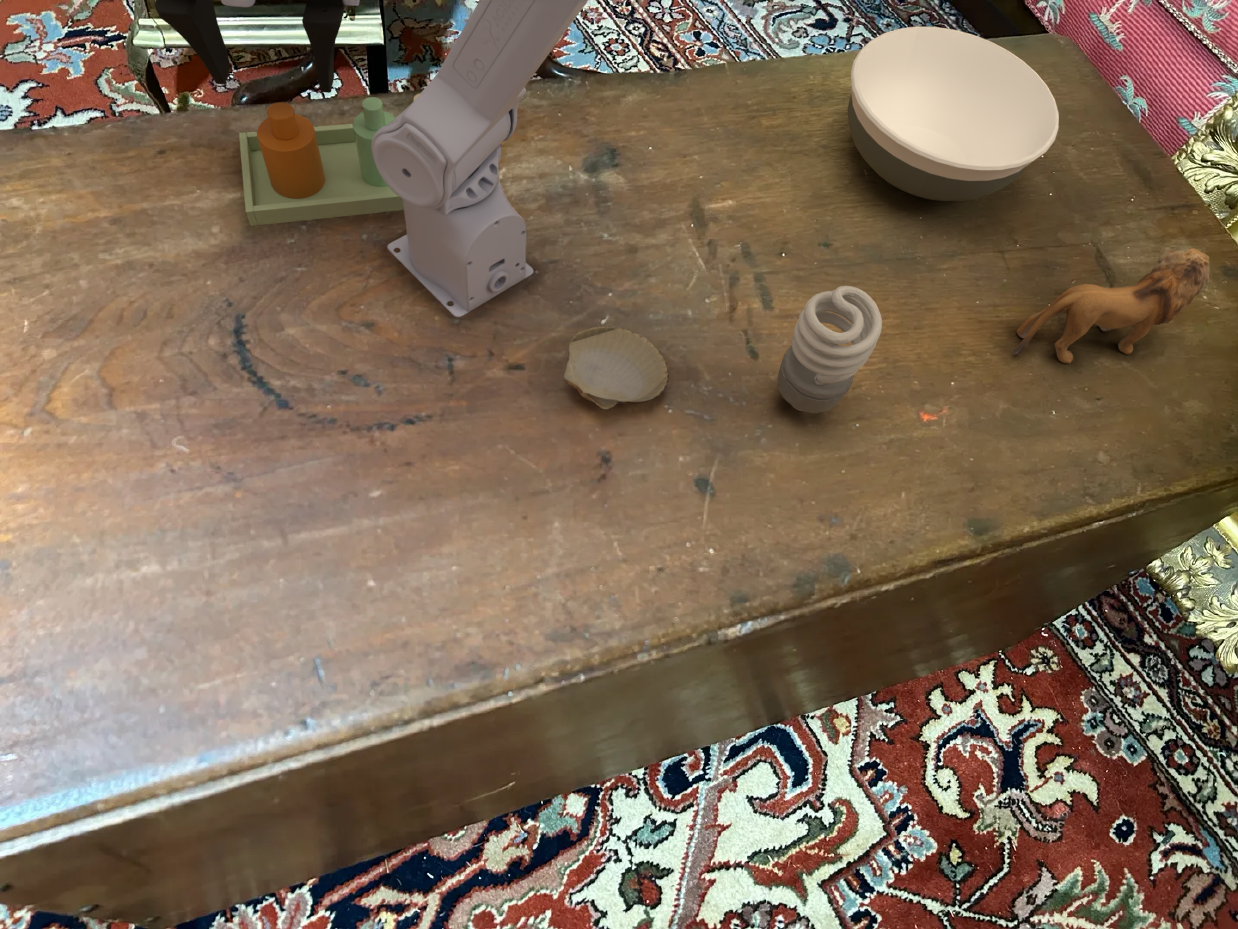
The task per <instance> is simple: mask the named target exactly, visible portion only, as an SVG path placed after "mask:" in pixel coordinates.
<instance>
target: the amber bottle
mask: <svg viewBox="0 0 1238 929" xmlns="http://www.w3.org/2000/svg"><path fill="white" fill-rule="evenodd" d="M266 114H267V118H265V119H264V120H262V122H260V124H259V125H258V126H257V130H256V132H257V138H258V141H259V145H260V148H261V151H262V155H263V158H264V162H265V165H266V169H267V172H268V175H269V179H270V182H271V185H272V187H273V189H274V190H275V191H276V192H277V193H278V194H280V195H282V196H284V197H287V198H294V199H299V198H306V197H309V196H312V195H314V194H316V193H317V192H318V191H320V189H321V188H322V187H323V185H324V183H325V174H324V170H323V165H322V161H321V156H320V152H319V147H318V143H317V138H316V134H315V129H314V127H315V126H314V125H313V123H312V121H310V120H309V119H308V118H307V117H305V116H302V115H301V114H297V113H295V109H294V107H293V105H291V104H289V103H287V102H275V103H272V104H271V105H269V106H268V108H267V109H266Z"/></svg>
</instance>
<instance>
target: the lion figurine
mask: <svg viewBox="0 0 1238 929" xmlns="http://www.w3.org/2000/svg"><path fill="white" fill-rule="evenodd" d="M1157 261H1158V262H1157V264H1156V265H1154V266H1153V267H1152V269H1151V272H1148V273H1147V274H1145V275H1144V276H1143V277H1142V278H1141V279H1140V280H1139V281H1138V282H1137V283H1135V284H1133V285H1130V286H1129V285H1128V286H1114V287H1109V288H1108V287H1103V286H1100V285H1097V284H1092V283H1081V284H1077V285H1075V286H1072V287H1070V288H1067V289H1066V290H1065V291H1063V292H1062V293H1061V294H1060V295H1059V296H1057V297H1056V298H1055V299H1054V300H1053V301H1052V302H1051V303H1049V304H1048V305H1047V306H1046V307H1044V308H1043V309H1042V310H1040V311H1039V312H1037V313H1034V314H1032V315H1029V316H1028V317H1026V319H1025V320H1024V321H1023V322H1022V323H1021V325H1020V326H1018V328H1016V334H1017V336H1018V337H1019V338H1022V341H1021V342H1019V344H1017V345H1016V346H1014V348H1013V349H1012V353H1011V354H1013V355H1014V356H1016V355H1020V354H1021V353H1022V352H1023V351H1024V350H1026V348H1027V347H1028V345H1029V343H1030V342H1031V340H1032V339H1033V337H1034V336H1035V334H1036V333H1037V332H1038V331H1039V329H1040V328H1042V326H1043V325H1044V324H1045V323H1046V322H1048V320H1049V319H1052V318H1054V317H1057V316H1060V315H1063V314H1066V316H1065V323H1064V330H1063V334H1062V336H1060V338H1059V339H1057V340H1056V341H1055V343H1054V347H1055V351H1056V357H1057V359H1058V360H1059V362H1061V363H1063V364H1071V363H1072V361H1074V355H1073V353H1072V351H1071V350H1069V349H1068V348H1069V346H1070V345H1072V344H1074V343H1075V342H1076V341H1077V340H1079V339H1080V338H1081V337H1083V336H1084V335H1086V334H1087V332H1088V331H1089V330H1090V329H1091V327H1092V326H1094V325H1095V326H1098V327H1099V329H1100V330H1101V331H1103V332H1108V331H1111V330H1114V329H1115V330H1116V329H1121V328H1125V327H1126V328H1127V327H1130V326H1131V329H1130V331H1129V332H1128V334H1127V335H1125V336H1124V337H1123V338H1121V340H1120V341H1119V342H1118V345H1117V346H1118V348H1117V349H1118V350H1119V351H1120V352H1121V353H1123V354H1124V355H1130V354H1131V353H1133V351H1134V344H1135V343H1136V342H1138V341H1139V340H1141V339H1142V338H1144V337H1145V336H1146V335H1148V334H1149V332H1150V331H1151V329H1152V328H1153V326H1159V325H1161V324H1163V325H1164V324H1168V323H1170V322H1171V321H1172V320H1173V319H1174V318H1175V317H1176V316H1178V315H1180V314H1181V313H1182V312H1183V311H1184V310H1185V309H1186V308H1187V307H1188V306H1189V305H1190V304H1191V303H1192V301H1193V299H1194V298H1195V297H1196V296H1198V295H1199V294H1200V293H1201V292H1202V291H1203V289H1204V287H1205V286H1206V285H1207V284H1208V283H1209V282H1210V276H1209V275H1210V272H1211V269H1210V266H1211V263H1210V256H1209V255H1207V254H1206V253H1205V252H1203V251H1202V252H1201V251H1200V250H1198V249H1196V248H1195V247H1190V248H1188V249H1185V250H1184V251H1181V250H1176V251H1174V250H1171V249H1170V250H1169V249H1167V250H1164V251H1163V253H1162V254H1161V255H1160V256H1159V258H1158V260H1157Z"/></svg>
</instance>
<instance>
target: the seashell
mask: <svg viewBox="0 0 1238 929" xmlns="http://www.w3.org/2000/svg"><path fill="white" fill-rule="evenodd" d="M567 354H568V360H567V362H566V366H565V368H566V369H565V370H564V373H563V379H564V381H565V383H567V385H568V386H569V385H570V386H572V387H573V388H575V389H576V390H577V392H578V394H579V395H580V396H581V397H582V398H584V399H585V400H587V401H590V402H593V403H595V404H596V405H597V406H598V407H599V408H600V409H602V410H606V411H608V410H609V409H613V408H614V407H615V406H616V405H621V404H635V403H645V402H649V401H652V400H654V399H655V398H656V397H659V396H660V395H661V394H662V392H664V390H665V389H666V387H667V384H668V382H669V370H668V366H667V365H668V364H667V362H666V359H665V358H664V356H663V355H662V353H661V350H659V348H657V347H656V346H655V345H654V343H652V341H649V340H648V338H646V337H645V336H642V335H641V334H639V333H637V332H633V331H631V330H630V329H623V328H621V327H616V326H615V327H614V326H611V325H608V326H603V325H602V326H601V325H600V326H593V327H590V328H586V329H583V330H581V331H578V332H577V333H575V334H574V335H573V337H572V339H571V340H570V342H569V343H568V353H567Z"/></svg>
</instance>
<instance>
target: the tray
mask: <svg viewBox="0 0 1238 929" xmlns="http://www.w3.org/2000/svg"><path fill="white" fill-rule="evenodd" d="M314 129H315V134H316V138H317V143H318V147H319V152H320V156H321V161H322V165H323V170H324V174H325V183H324V185H323V187H322V188H321V189H320V191H318V192H317V193H316V194H314V195H312V196H309V197H306V198H299V199H294V198H287V197H284V196H282V195H280V194H278V193H277V192H276V191H275V190H274V189H273V187H272V185H271V182H270V179H269V175H268V172H267V169H266V165H265V162H264V158H263V155H262V151H261V148H260V145H259V141H258V138H257V131H247V132H238V137H239V151H240V162H241V174H242V186H243V197H244V208H245V209H244V210H245V214H246V217H247V221H248V223H249V226H250V227H254V226H264V225H273V224H282V223H283V224H285V223H292V222H302V221H311V220H320V219H329V218H340V217H350V216H359V215H368V214H379V213H387V212H397V211H398V212H399V211H404V207H403V199H402V198H401V197H400V196H398V195H397V194H396V193H395V192H394V191H393V190H392V189H391V188H390V187H389V186H388V187H377V186H373V185H371V184H369V183H367V182H366V181H365V180H364V179H363V177H362V175H361V170H360V165H359V159H358V154H357V148H356V142H355V137H354V131H353V123H344V124H330V125H318V126H314Z"/></svg>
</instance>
